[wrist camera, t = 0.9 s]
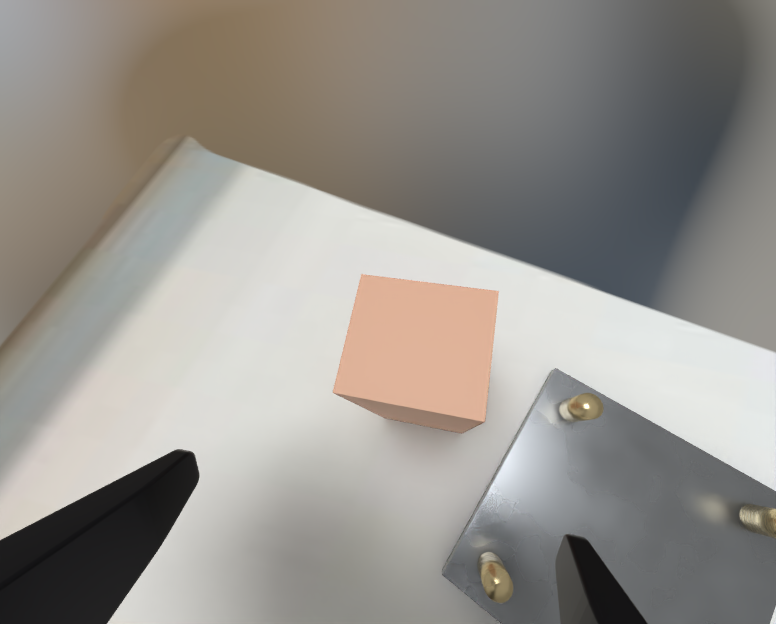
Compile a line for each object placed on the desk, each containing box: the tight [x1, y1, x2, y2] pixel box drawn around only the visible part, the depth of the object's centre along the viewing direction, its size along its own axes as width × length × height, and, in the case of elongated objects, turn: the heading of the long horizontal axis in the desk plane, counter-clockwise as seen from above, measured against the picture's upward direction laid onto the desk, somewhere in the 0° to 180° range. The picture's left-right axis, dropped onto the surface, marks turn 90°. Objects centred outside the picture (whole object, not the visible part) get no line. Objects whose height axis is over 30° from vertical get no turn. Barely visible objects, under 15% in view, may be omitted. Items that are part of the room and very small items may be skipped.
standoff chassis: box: [442, 368, 776, 624], centre depth 16 cm, size 12×12×3 cm
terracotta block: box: [333, 274, 499, 433], centre depth 16 cm, size 4×4×11 cm
